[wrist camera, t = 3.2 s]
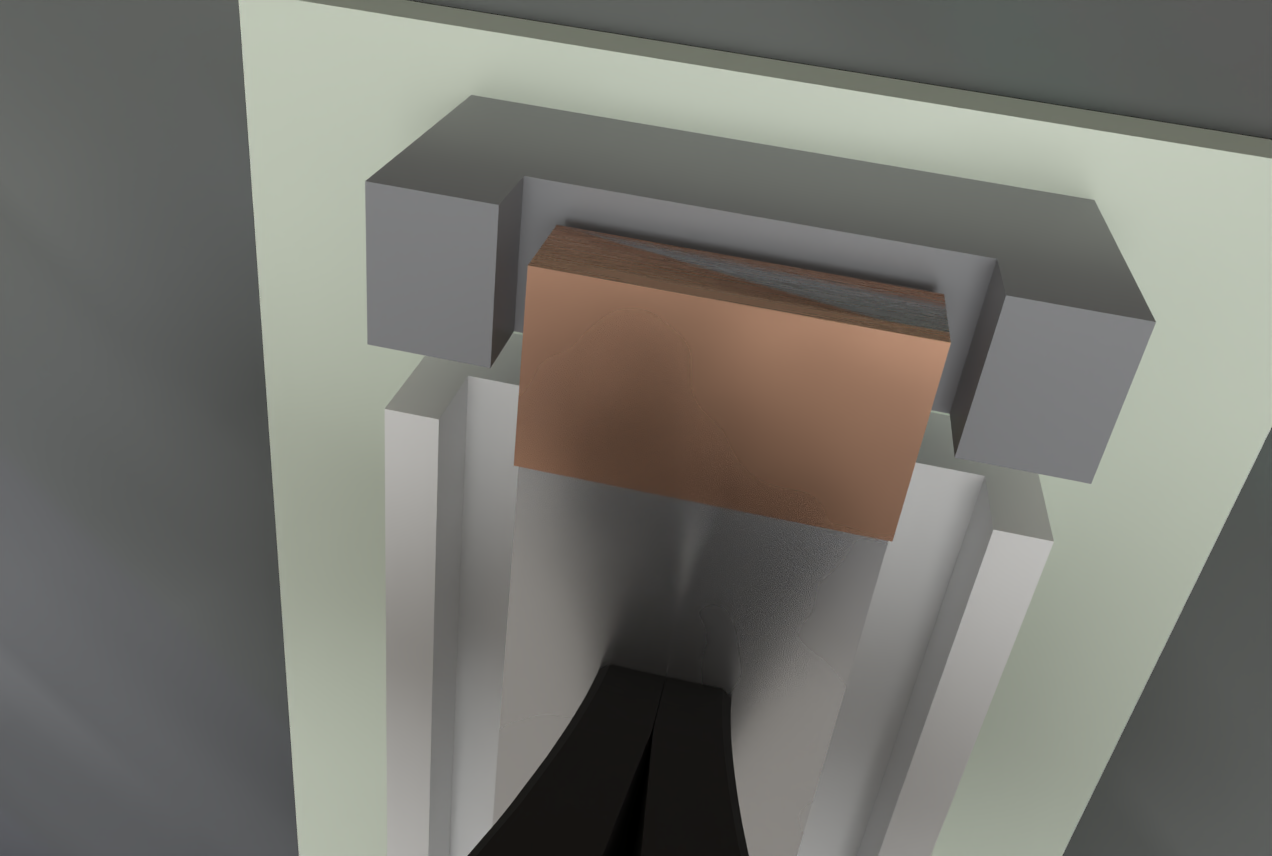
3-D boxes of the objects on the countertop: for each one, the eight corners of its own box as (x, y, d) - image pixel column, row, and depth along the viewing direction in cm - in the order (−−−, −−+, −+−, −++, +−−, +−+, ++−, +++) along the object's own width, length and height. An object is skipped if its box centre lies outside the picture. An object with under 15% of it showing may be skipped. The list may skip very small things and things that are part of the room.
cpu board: (928, 1081, 21) (937, 1319, 18) (324, 932, 22) (231, 1130, 19) (1363, 153, 12) (1550, 304, 8) (272, -22, 13) (67, 50, 10)
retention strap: (732, 1147, 17) (723, 1226, 16) (459, 1078, 18) (436, 1149, 17) (994, 298, 10) (1006, 352, 9) (511, 212, 10) (475, 256, 9)
